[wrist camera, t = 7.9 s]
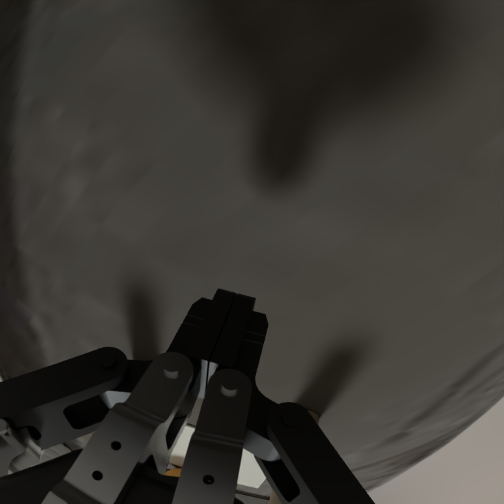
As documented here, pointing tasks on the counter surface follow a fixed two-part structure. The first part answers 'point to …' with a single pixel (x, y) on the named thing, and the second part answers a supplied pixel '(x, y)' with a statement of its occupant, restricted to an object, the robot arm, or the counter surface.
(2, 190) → the counter surface
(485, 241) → the counter surface
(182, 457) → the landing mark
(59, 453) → the white pump bottle
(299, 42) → the counter surface
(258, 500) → the wall
